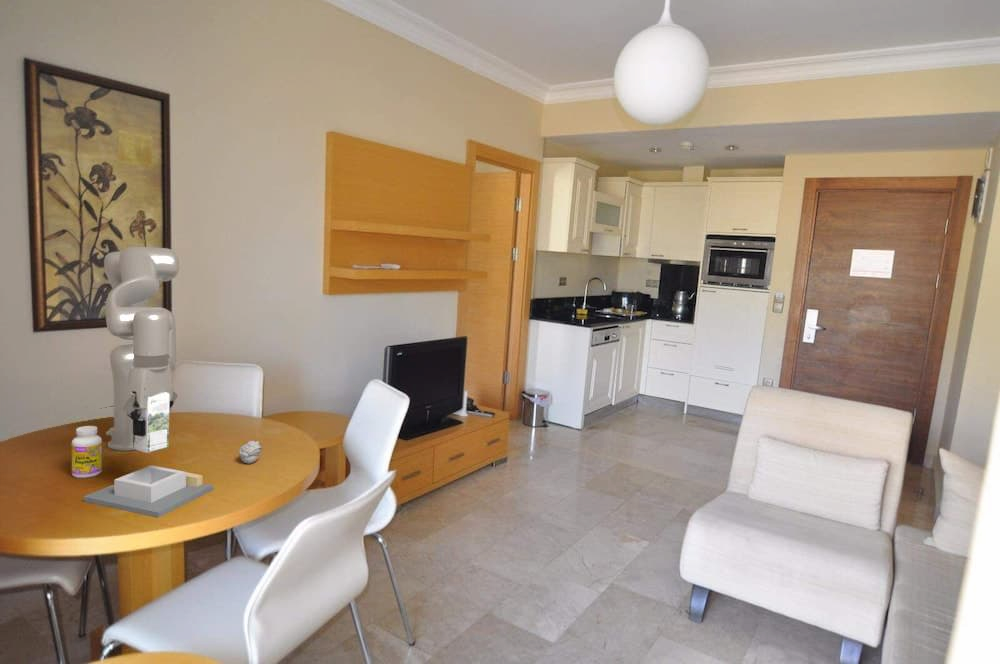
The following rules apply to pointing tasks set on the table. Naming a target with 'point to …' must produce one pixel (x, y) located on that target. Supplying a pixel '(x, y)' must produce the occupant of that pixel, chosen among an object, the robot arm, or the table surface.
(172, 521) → the table surface
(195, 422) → the table surface
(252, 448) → the white wrinkled round lump
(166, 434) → the syrup box
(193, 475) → the socket jig
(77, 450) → the supplement bottle
